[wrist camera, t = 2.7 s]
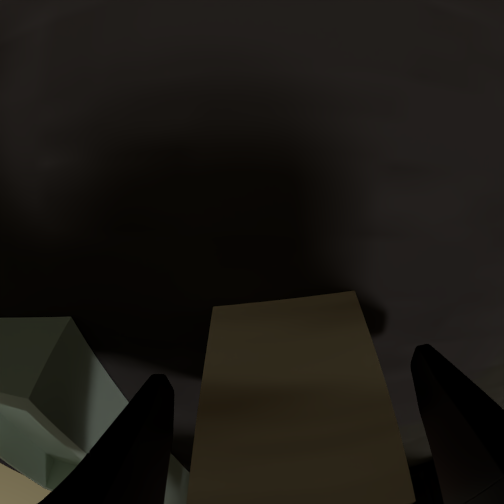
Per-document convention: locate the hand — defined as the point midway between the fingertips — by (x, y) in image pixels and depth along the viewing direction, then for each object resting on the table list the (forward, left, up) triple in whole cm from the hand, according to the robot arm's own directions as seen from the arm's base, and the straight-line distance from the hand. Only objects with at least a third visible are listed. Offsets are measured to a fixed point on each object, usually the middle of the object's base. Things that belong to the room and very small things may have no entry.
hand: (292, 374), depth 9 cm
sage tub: (-6, +13, -1) cm, 14 cm away
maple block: (0, 0, -1) cm, 1 cm away
